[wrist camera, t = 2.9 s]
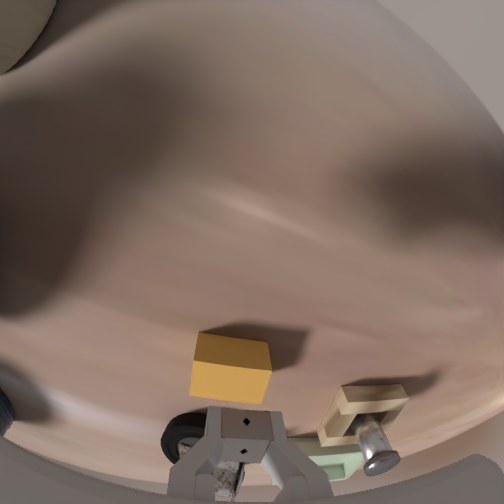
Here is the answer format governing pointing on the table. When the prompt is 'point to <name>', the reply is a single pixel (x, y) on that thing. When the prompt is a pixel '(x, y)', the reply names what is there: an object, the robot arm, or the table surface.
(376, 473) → the stop pin
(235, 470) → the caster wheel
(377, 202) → the table surface
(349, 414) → the pin stand
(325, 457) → the tray
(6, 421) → the canister
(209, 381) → the chock
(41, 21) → the canister
